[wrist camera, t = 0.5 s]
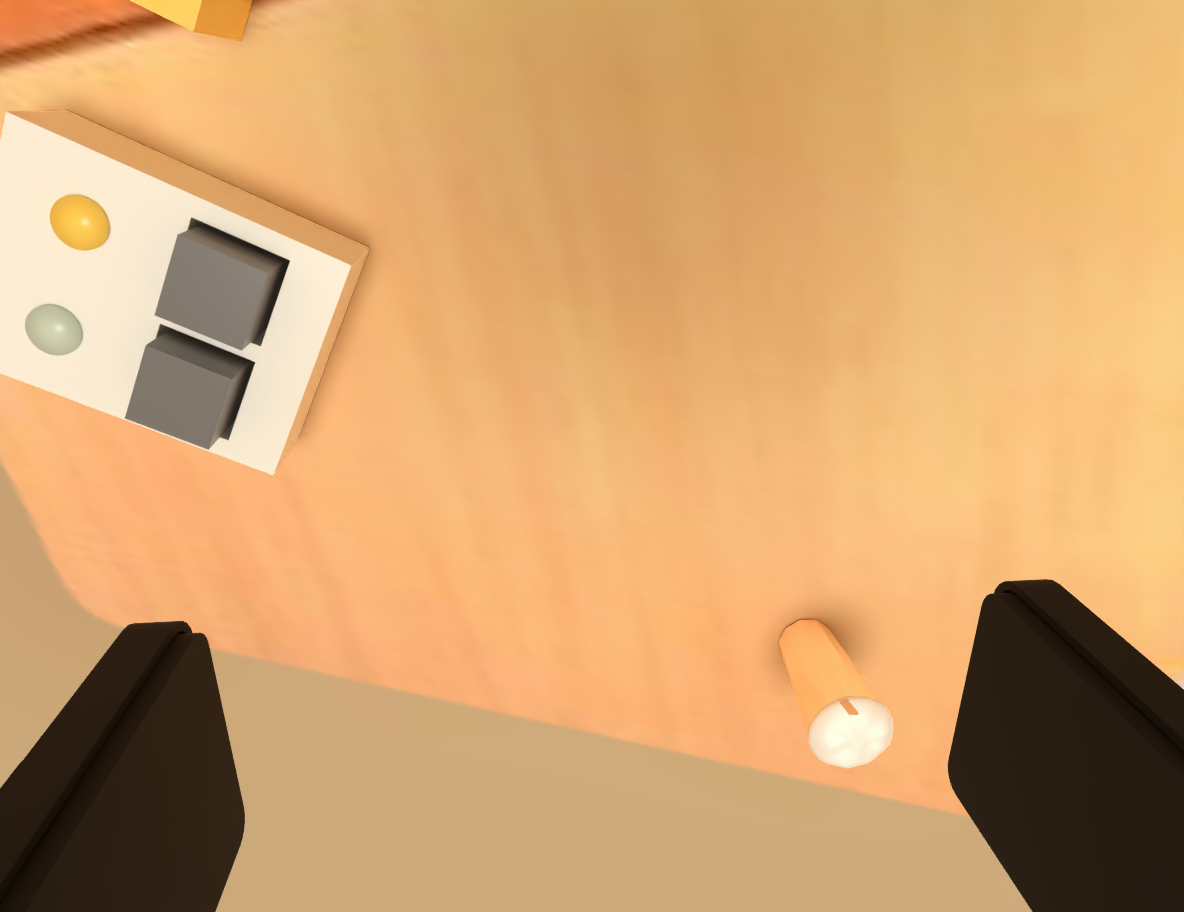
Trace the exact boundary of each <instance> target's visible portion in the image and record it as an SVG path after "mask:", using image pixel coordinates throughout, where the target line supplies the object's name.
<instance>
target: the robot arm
mask: <svg viewBox="0 0 1184 912" xmlns="http://www.w3.org/2000/svg"><path fill="white" fill-rule="evenodd" d="M948 774H949V779H950V783H951V785H952V788H953V790H954V792H955V794H956V796H957V797H958V799H959V800H960V802H961V803H962V805H963V806H964V808H965V809H966V811H967V813H968V814H969V816H970V817H971V819H972V820H973V821H974V823H975V825H976V826H977V828H978V829H979V831H980V832H981V834H982V835H983V837H984V838H985V840H986V841H987V843H988V845H989V846H990V847H991V849H992V851H993V852H994V854H995V855H996V857H997V858H998V860H999V861H1000V863H1001V864H1002V866H1003V867H1004V869H1005V870H1006V872H1007V873H1008V875H1009V877H1010V878H1011V880H1012V881H1013V883H1014V884H1015V886H1016V887H1017V889H1018V890H1019V892H1020V893H1021V895H1022V896H1023V898H1024V899H1025V901H1026V902H1027V904H1028V906H1029V907H1030V909H1031V910H1032V911H1033V912H1184V689H1182V688H1181V687H1180V686H1179V685H1178V684H1176V683H1175V682H1174V681H1173V680H1172V679H1171V678H1169V677H1168V676H1167V675H1166V674H1165V673H1163V672H1162V671H1161V670H1160V669H1159V668H1158V667H1156V666H1155V665H1154V664H1153V663H1152V662H1151V661H1149V660H1148V659H1147V658H1146V657H1145V656H1143V655H1142V654H1141V653H1140V652H1139V651H1138V650H1136V649H1135V648H1134V647H1133V646H1132V645H1131V644H1129V643H1128V642H1127V641H1126V640H1125V639H1123V638H1122V637H1121V636H1120V635H1119V634H1118V633H1116V632H1115V631H1114V630H1113V629H1112V628H1111V627H1109V626H1108V625H1107V624H1106V623H1105V622H1103V621H1102V620H1101V619H1100V618H1099V617H1098V616H1096V615H1095V614H1094V613H1093V612H1092V611H1090V610H1089V609H1088V608H1087V607H1086V606H1085V605H1083V604H1082V603H1081V602H1080V601H1079V600H1078V599H1076V598H1075V597H1074V596H1073V595H1072V594H1070V593H1069V592H1068V591H1067V590H1066V589H1065V588H1063V587H1062V586H1061V585H1060V584H1058V583H1057V582H1055V581H1053V580H1047V579H1044V580H1023V581H1005V582H1003V583H1001V584H999V585H998V587H997V588H996V589H995V592H994V594H989V595H987V596H986V598H985V599H984V601H983V603H982V607H981V611H980V616H979V621H978V625H977V630H976V635H975V639H974V644H973V648H972V653H971V658H970V662H969V667H968V672H967V676H966V681H965V686H964V690H963V695H962V700H961V704H960V709H959V713H958V718H957V723H956V727H955V732H954V737H953V741H952V746H951V751H950V755H949V760H948ZM244 824H245V812H244V806H243V801H242V797H241V792H240V787H239V783H238V778H237V773H236V769H235V764H234V759H233V754H232V750H231V745H230V741H229V736H228V731H227V727H226V722H225V717H224V713H223V708H222V703H221V699H220V694H219V689H218V685H217V680H216V676H215V671H214V666H213V662H212V657H211V652H210V648H209V644H208V640H207V638H206V636H205V635H204V634H202V633H192V630H191V628H190V627H189V625H188V624H187V623H186V622H184V621H173V622H153V623H134V624H130V625H128V626H127V627H126V628H125V629H124V630H123V631H122V632H121V633H120V635H119V636H118V637H117V639H116V640H115V641H114V643H113V644H112V645H111V646H110V648H109V649H108V650H107V652H106V653H105V654H104V656H103V657H102V658H101V659H100V661H99V662H98V663H97V665H96V666H95V667H94V669H93V670H92V671H91V672H90V674H89V675H88V676H87V678H86V679H85V680H84V682H83V683H82V684H81V686H80V687H79V688H78V689H77V691H76V692H75V693H74V695H73V696H72V697H71V698H70V700H69V701H68V702H67V704H66V705H65V706H64V708H63V709H62V710H61V712H60V713H59V714H58V715H57V717H56V718H55V719H54V721H53V722H52V723H51V725H50V726H49V727H48V729H47V730H46V731H45V732H44V734H43V735H42V736H41V738H40V739H39V740H38V742H37V743H36V744H35V745H34V747H33V748H32V749H31V751H30V752H29V753H28V755H27V756H26V757H25V759H24V760H23V761H22V762H21V763H20V764H19V765H18V766H17V768H16V769H15V770H14V772H13V773H12V774H11V775H10V777H9V778H8V779H7V781H6V782H5V783H4V784H3V786H2V787H1V788H0V912H215V911H216V908H217V906H218V903H219V900H220V898H221V895H222V892H223V890H224V887H225V885H226V882H227V879H228V877H229V874H230V871H231V869H232V866H233V863H234V861H235V858H236V855H237V853H238V850H239V847H240V845H241V841H242V838H243V832H244Z"/></svg>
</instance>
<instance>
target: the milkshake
mask: <svg viewBox="0 0 1184 912" xmlns="http://www.w3.org/2000/svg"><path fill="white" fill-rule="evenodd" d="M779 645H780V648H781V652H782V656H783V659H784V662H785V665H786V668H787V671H788V674H789V677H790V680H791V683H792V686H793V689H794V692H795V695H796V698H797V701H798V704H799V709H800V713H801V717H802V720H803V723H804V727H805V730H806V734H807V737H808V741H809V744H810V747H811V749H812V751H813V752H814V754H815V755H816V756H817V757H818V758H819V759H820V760H821V761H823V762H825V763H827V764H830V765H835V766H839V767H843V768H852V767H855V766H859V765H864V764H867V763H869V762H871V761H872V760H874V759H875V758H876V757H877V756H878V755H879V754H881V753H882V752H883V751H884V750H885V749H886V748H887V747H888V745H889V744H890V742H891V740H892V736H893V720H892V716H891V714H890V712H889V710H888V709H887V708H886V707H885V706H884V704H883V703H882V702H881V700H880V699H879V698H878V696H877V695H876V694H875V693H874V691H873V690H872V689H871V687H870V686H869V685H868V683H867V682H866V681H865V679H864V678H863V677H862V675H861V674H860V672H859V671H858V669H857V668H856V667H855V665H854V664H853V662H852V661H851V660H850V658H849V657H848V655H847V654H846V652H845V651H844V650H843V648H842V647H841V645H840V644H839V643H838V641H837V640H836V638H835V637H834V636H833V634H832V633H831V631H830V630H829V629H828V627H826V626H825V625H823V624H822V623H820V622H819V621H817V620H799V621H797V622H795V623H794V624H792V625H790V626H788V627H787V628H785V630H784V632H783V634H782V636H781V638H780V640H779Z"/></svg>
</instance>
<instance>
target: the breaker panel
mask: <svg viewBox="0 0 1184 912" xmlns="http://www.w3.org/2000/svg"><path fill="white" fill-rule="evenodd" d="M205 223H206V224H208V225H210V226H213V227H215V228H217V229H219V230H222V231H224V232H226V233H229V234H231V235H233V236H235V237H238V238H240V239H242V240H244V241H247V242H249V243H251V244H254V245H256V246H258V247H260V248H263V249H265V250H267V251H270V252H272V253H274V254H276V255H279V256H281V257H283V258H285V259H288V260H290V263H289V266H288V268H287V271H286V274H285V277H284V280H283V283H282V286H281V289H280V292H279V295H278V298H277V301H276V304H275V306H274V309H273V312H272V315H271V318H270V321H269V324H268V327H267V329H266V330H264V331H263V332H262V333H261V334H260V335H259V336H258V337H257V338H255V339H254V340H253V341H252V342H251V343H250V344H249V345H248V346H246V347H245V348H244V349H243V350H242V351H241V350H239V349H236V348H234V347H231V346H229V345H226V344H224V343H221V342H219V341H216V340H214V339H212V338H209V337H207V336H204V335H202V334H199V333H197V332H194V331H192V330H189V329H187V328H184V327H182V326H180V325H177V324H175V323H172V322H170V321H167V320H165V319H162V318H160V317H157V316H155V311H156V308H157V304H158V301H159V297H160V294H161V290H162V287H163V283H164V280H165V276H166V273H167V270H168V266H169V263H170V259H171V256H172V252H173V249H174V245H175V242H176V238H177V235H178V234H180V233H182V232H185V231H187V230H190V229H192V228H195V227H198V226H200V225H203V224H205ZM369 249H370V248H369V247H367V246H365V245H363V244H360V243H358V242H356V241H354V240H352V239H349V238H347V237H345V236H343V235H341V234H338V233H336V232H334V231H332V230H330V229H327V228H325V227H323V226H321V225H319V224H316V223H314V222H312V221H310V220H307V219H305V218H303V217H301V216H299V215H296V214H294V213H292V212H290V211H288V210H285V209H283V208H281V207H279V206H277V205H274V204H272V203H270V202H268V201H266V200H263V199H261V198H259V197H257V196H255V195H252V194H250V193H248V192H246V191H244V190H241V189H239V188H237V187H235V186H233V185H230V184H228V183H226V182H224V181H222V180H219V179H217V178H215V177H213V176H211V175H208V174H206V173H204V172H202V171H200V170H197V169H195V168H193V167H191V166H189V165H186V164H184V163H182V162H180V161H178V160H175V159H173V158H171V157H169V156H166V155H164V154H162V153H160V152H158V151H155V150H153V149H151V148H149V147H147V146H144V145H142V144H140V143H138V142H136V141H133V140H131V139H129V138H127V137H125V136H122V135H120V134H118V133H116V132H114V131H111V130H109V129H107V128H105V127H103V126H100V125H98V124H96V123H94V122H92V121H89V120H87V119H85V118H83V117H81V116H78V115H76V114H74V113H72V112H70V111H67V110H44V111H11V112H6V115H5V120H4V125H3V130H2V135H1V140H0V373H1V374H4V375H6V376H9V377H12V378H14V379H17V380H20V381H22V382H25V383H28V384H30V385H33V386H36V387H38V388H41V389H44V390H46V391H49V392H52V393H54V394H57V395H60V396H62V397H65V398H68V399H70V400H73V401H76V402H78V403H81V404H84V405H86V406H89V407H92V408H94V409H97V410H100V411H102V412H105V413H108V414H110V415H113V416H116V417H119V418H121V419H124V420H127V421H129V422H132V423H135V424H137V425H140V426H143V427H145V428H148V429H151V430H153V431H156V432H159V433H161V434H164V435H167V436H169V437H172V438H175V439H177V440H180V441H183V442H185V443H188V444H191V445H193V446H196V447H199V448H201V449H204V450H207V451H209V452H212V453H215V454H217V455H220V456H223V457H225V458H228V459H231V460H233V461H236V462H239V463H241V464H244V465H247V466H250V467H252V468H255V469H258V470H260V471H263V472H266V473H268V474H271V475H274V474H275V472H276V471H277V469H278V468H279V466H280V465H281V464H282V462H283V461H284V459H285V458H286V456H287V455H288V453H289V452H290V450H291V449H292V447H293V446H294V444H295V443H296V441H297V440H298V438H299V435H300V432H301V430H302V427H303V424H304V422H305V419H306V416H307V414H308V411H309V408H310V406H311V403H312V400H313V398H314V395H315V392H316V390H317V387H318V384H319V382H320V379H321V376H322V374H323V371H324V368H325V366H326V363H327V360H328V358H329V355H330V352H331V350H332V347H333V345H334V342H335V339H336V337H337V334H338V331H339V329H340V326H341V323H342V321H343V318H344V315H345V313H346V310H347V307H348V305H349V302H350V299H351V297H352V294H353V291H354V289H355V286H356V283H357V281H358V278H359V275H360V273H361V270H362V267H363V265H364V262H365V259H366V257H367V254H368V251H369ZM171 328H172V329H175V330H177V331H180V332H182V333H185V334H187V335H190V336H192V337H195V338H197V339H199V340H202V341H204V342H207V343H209V344H212V345H214V346H217V347H219V348H222V349H224V350H227V351H229V352H232V353H234V354H236V355H239V356H241V357H244V358H246V359H249V360H251V361H254V362H255V365H254V368H253V371H252V374H251V377H250V380H249V382H248V385H247V388H246V391H245V394H244V397H243V400H242V403H241V406H240V409H239V412H238V415H237V417H236V420H235V421H234V422H233V423H232V424H231V426H230V427H229V428H228V429H227V430H226V431H225V432H224V433H223V434H222V435H221V437H220V438H219V439H218V440H217V441H216V442H215V443H214V444H213V445H212V447H211V448H210V449H209V450H208V449H205V448H202V447H200V446H197V445H194V444H192V443H189V442H186V441H184V440H181V439H178V438H176V437H173V436H170V435H168V434H165V433H162V432H160V431H157V430H154V429H152V428H149V427H146V426H144V425H141V424H138V423H136V422H133V421H130V420H128V419H125V415H126V412H127V408H128V405H129V402H130V398H131V395H132V391H133V388H134V384H135V381H136V377H137V374H138V370H139V367H140V363H141V360H142V356H143V353H144V349H145V346H146V345H147V344H148V343H150V342H151V341H153V340H154V339H156V338H158V337H159V336H161V335H162V334H164V333H165V332H167V331H168V330H170V329H171Z"/></svg>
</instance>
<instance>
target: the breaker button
mask: <svg viewBox="0 0 1184 912" xmlns="http://www.w3.org/2000/svg"><path fill="white" fill-rule="evenodd" d="M254 365H255V362H254V361H251V360H249V359H246V358H244V357H241V356H239V355H236V354H234V353H232V352H229V351H227V350H224V349H222V348H219V347H217V346H214V345H212V344H209V343H207V342H204V341H202V340H199V339H197V338H195V337H192V336H190V335H187V334H185V333H182V332H180V331H177V330H175V329H172V328H171V329H170V330H168V331H167V332H165V333H164V334H162V335H161V336H159V337H158V338H156V339H154V340H153V341H151V342H150V343H148V344H147V345H146V346H145V349H144V353H143V356H142V360H141V363H140V367H139V370H138V374H137V377H136V381H135V384H134V388H133V391H132V395H131V398H130V402H129V405H128V408H127V412H126V415H125V419H128V420H130V421H133V422H136V423H138V424H141V425H144V426H146V427H149V428H152V429H154V430H157V431H160V432H162V433H165V434H168V435H170V436H173V437H176V438H178V439H181V440H184V441H186V442H189V443H192V444H194V445H197V446H200V447H202V448H205V449H208V450H209V449H210V448H211V447H212V445H213V444H214V443H215V442H216V441H217V440H218V439H219V438H220V437H221V435H222V434H223V433H224V432H225V431H226V430H227V429H228V428H229V427H230V426H231V424H232V423H233V422H234V421H235V420H236V417H237V415H238V412H239V409H240V406H241V403H242V400H243V397H244V394H245V391H246V388H247V385H248V382H249V380H250V377H251V374H252V371H253V368H254Z"/></svg>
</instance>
